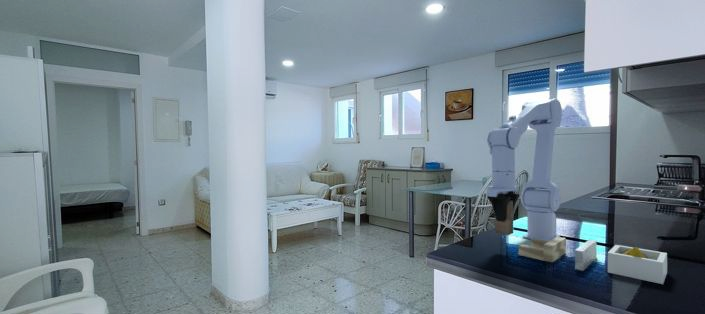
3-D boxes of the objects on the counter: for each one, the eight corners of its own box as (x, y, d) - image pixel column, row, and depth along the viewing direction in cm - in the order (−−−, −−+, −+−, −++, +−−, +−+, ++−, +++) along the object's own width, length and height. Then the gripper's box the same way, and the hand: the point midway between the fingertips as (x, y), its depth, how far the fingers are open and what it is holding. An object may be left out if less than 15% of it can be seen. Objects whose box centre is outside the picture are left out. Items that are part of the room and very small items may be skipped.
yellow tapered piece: (655, 273, 71) (660, 252, 66) (630, 282, 72) (633, 261, 67) (635, 254, 76) (638, 232, 70) (612, 262, 77) (613, 241, 71)
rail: (589, 256, 82) (589, 239, 82) (596, 258, 81) (596, 240, 81) (575, 269, 74) (575, 250, 74) (582, 270, 73) (582, 251, 73)
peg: (500, 230, 90) (500, 199, 90) (513, 233, 87) (512, 200, 87) (495, 233, 88) (494, 201, 88) (507, 235, 85) (507, 202, 85)
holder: (615, 262, 77) (615, 244, 77) (667, 272, 71) (667, 253, 71) (607, 272, 72) (607, 252, 72) (663, 284, 65) (662, 262, 65)
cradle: (533, 246, 91) (533, 232, 91) (565, 252, 85) (565, 238, 85) (518, 254, 84) (518, 240, 84) (552, 262, 78) (552, 246, 78)
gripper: (500, 169, 95) (501, 214, 95) (476, 172, 86) (477, 221, 86) (525, 170, 90) (525, 217, 90) (503, 173, 80) (503, 226, 80)
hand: (504, 219), depth 88 cm, fingers closed on peg, 3 cm apart
